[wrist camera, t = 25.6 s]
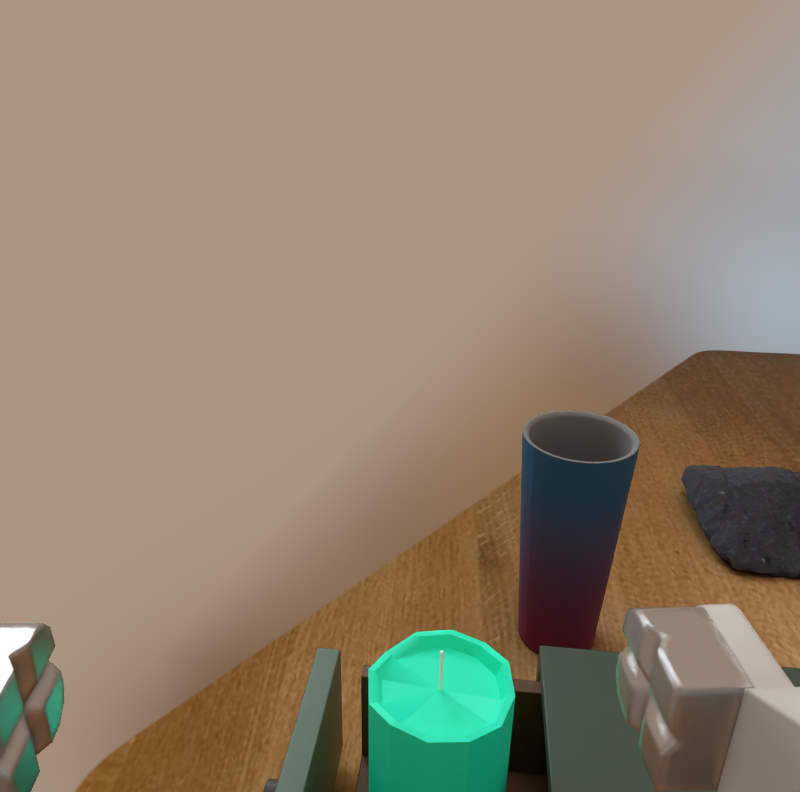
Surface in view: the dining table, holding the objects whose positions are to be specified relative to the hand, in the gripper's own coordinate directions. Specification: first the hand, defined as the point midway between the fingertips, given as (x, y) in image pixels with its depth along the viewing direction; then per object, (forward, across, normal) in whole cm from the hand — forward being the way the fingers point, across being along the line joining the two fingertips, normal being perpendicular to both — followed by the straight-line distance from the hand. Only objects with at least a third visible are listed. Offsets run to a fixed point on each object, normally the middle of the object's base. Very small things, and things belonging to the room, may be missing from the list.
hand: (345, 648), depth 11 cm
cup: (+31, -13, +28) cm, 44 cm away
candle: (+14, -4, +26) cm, 30 cm away
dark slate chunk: (+43, -39, +28) cm, 64 cm away
